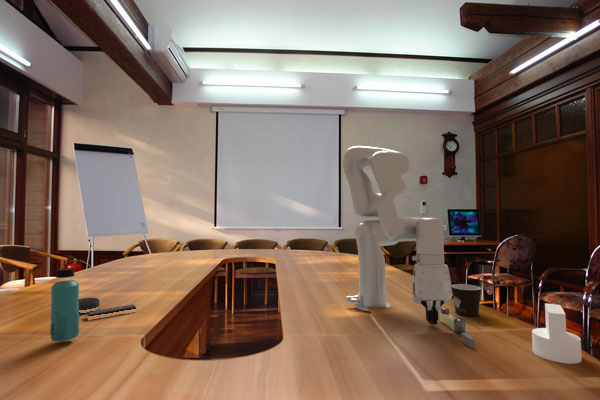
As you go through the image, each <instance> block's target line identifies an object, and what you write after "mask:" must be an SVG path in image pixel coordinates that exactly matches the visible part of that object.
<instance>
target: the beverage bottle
mask: <svg viewBox="0 0 600 400" xmlns="http://www.w3.org/2000/svg"><path fill="white" fill-rule="evenodd" d="M73 277H75V270H74V268H71V267H69V268H66V267H65V268H58V269H57V270H56V274H55V278H56V279H63V280H59V281H56V282H55V283H54V284H52V286H50V289H51V300H50V301H51V303H50V312H49V313H50V331H49V332H50V336H49V337H50V339H51V341H52V342H64V341H69V340H72V339H75V338H77V337H78V336H79V334H80V315H81V314H80V312H79V308H80V307H79V306H80V305H79V299H80V296H79V295H80V291H79V290H80V287H79V286H80V284H79V282H77V281H76V280H74V279H65V280H64V278H73Z"/></svg>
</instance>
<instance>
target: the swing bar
mask: <svg viewBox="0 0 600 400" xmlns="http://www.w3.org/2000/svg"><path fill="white" fill-rule="evenodd" d="M439 321H440V322H441V323H442V324H444V325H445V326H446V327H448V328H449V329H450V330H452V331H454V334H458V335H461V333H466V319H465V318H462V317H457V316H455V315H453V314H452V313H450V309H449V308H447V307H446V308H445V307H440V310H439Z"/></svg>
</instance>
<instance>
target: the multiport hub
mask: <svg viewBox="0 0 600 400" xmlns="http://www.w3.org/2000/svg"><path fill="white" fill-rule="evenodd" d="M131 309H136V310H137V306H136V305H135V304H127V305H122V306H116V307H110V308H103V309H98V310H96V311H90V312H87V313H86V316H87V315H88V316H94V315H101V314H108V313H113V312H119V311H124V310H131Z"/></svg>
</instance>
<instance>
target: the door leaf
mask: <svg viewBox="0 0 600 400" xmlns="http://www.w3.org/2000/svg"><path fill="white" fill-rule="evenodd" d="M460 335H461V342H462V343H464V344H465V345H466V346H467V347H468V348H475V347H476V346H475V345H476V344H475V338H474V337H472V336H471V335H470V334H468V333H467V332H465V333H461V334H460Z"/></svg>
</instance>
